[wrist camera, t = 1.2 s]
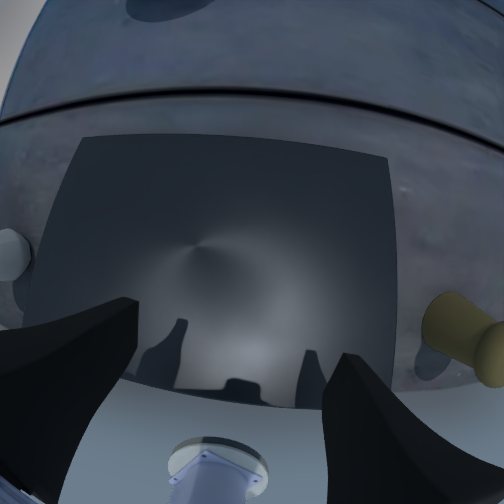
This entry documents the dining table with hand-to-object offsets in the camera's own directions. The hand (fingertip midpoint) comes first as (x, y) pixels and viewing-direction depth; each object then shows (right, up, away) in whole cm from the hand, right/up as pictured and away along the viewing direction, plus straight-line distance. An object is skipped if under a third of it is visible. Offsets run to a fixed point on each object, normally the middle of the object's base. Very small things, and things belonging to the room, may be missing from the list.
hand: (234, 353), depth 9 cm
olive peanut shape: (+20, -3, +14) cm, 25 cm away
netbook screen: (-3, +3, +9) cm, 10 cm away
